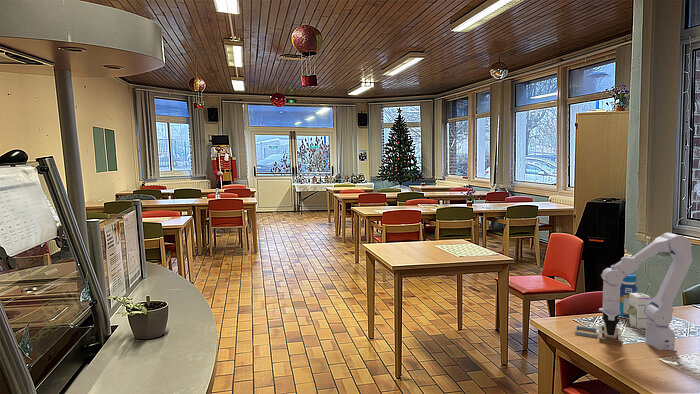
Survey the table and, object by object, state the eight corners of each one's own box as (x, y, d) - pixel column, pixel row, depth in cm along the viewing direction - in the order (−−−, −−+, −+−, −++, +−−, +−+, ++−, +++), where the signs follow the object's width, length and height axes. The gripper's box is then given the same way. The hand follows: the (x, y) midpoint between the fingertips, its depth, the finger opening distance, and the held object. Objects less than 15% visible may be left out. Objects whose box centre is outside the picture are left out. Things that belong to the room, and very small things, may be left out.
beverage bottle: (619, 312, 206) (620, 271, 205) (639, 317, 199) (641, 274, 198) (612, 316, 200) (613, 274, 199) (633, 321, 194) (634, 277, 193)
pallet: (598, 330, 183) (598, 325, 183) (619, 333, 179) (619, 328, 179) (599, 343, 169) (599, 338, 169) (621, 347, 165) (621, 341, 165)
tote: (575, 330, 183) (576, 325, 183) (596, 333, 180) (597, 328, 179) (575, 336, 177) (575, 331, 177) (597, 339, 173) (597, 334, 173)
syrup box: (650, 329, 183) (651, 296, 182) (636, 329, 183) (637, 296, 182) (641, 325, 189) (642, 292, 188) (628, 325, 189) (629, 292, 188)
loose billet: (615, 337, 171) (616, 322, 171) (616, 340, 167) (616, 325, 167) (604, 335, 173) (604, 320, 173) (604, 338, 169) (604, 323, 169)
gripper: (599, 293, 178) (598, 325, 178) (599, 302, 165) (598, 337, 166) (619, 295, 174) (618, 328, 175) (621, 305, 161) (620, 340, 162)
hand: (610, 332), depth 170 cm, fingers closed on loose billet, 4 cm apart
